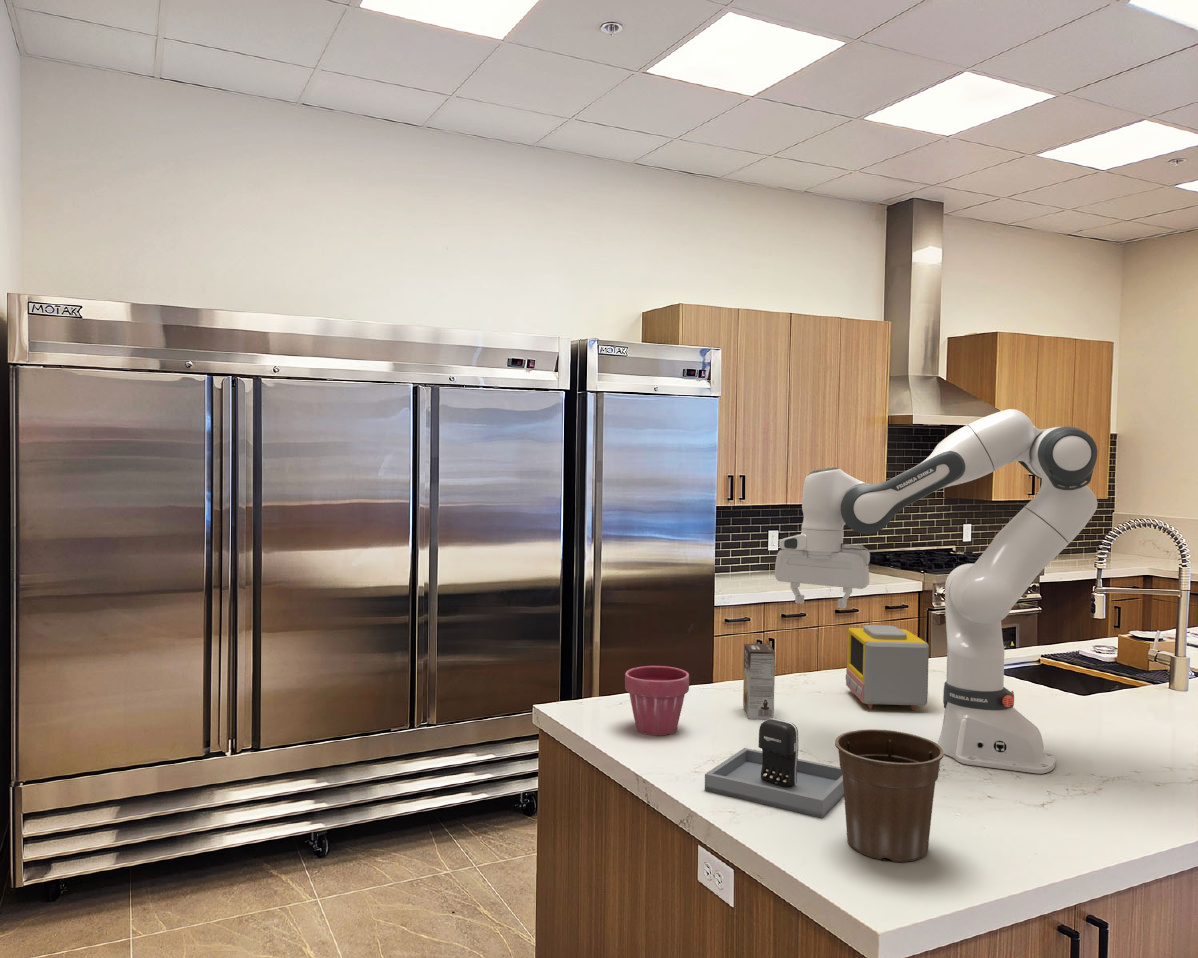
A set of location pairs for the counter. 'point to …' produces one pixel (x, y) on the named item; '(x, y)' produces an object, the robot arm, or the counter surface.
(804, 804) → the tray
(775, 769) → the battery charger
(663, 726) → the plant pot
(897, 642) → the alarm clock
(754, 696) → the coffee box
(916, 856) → the plant pot
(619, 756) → the counter surface
